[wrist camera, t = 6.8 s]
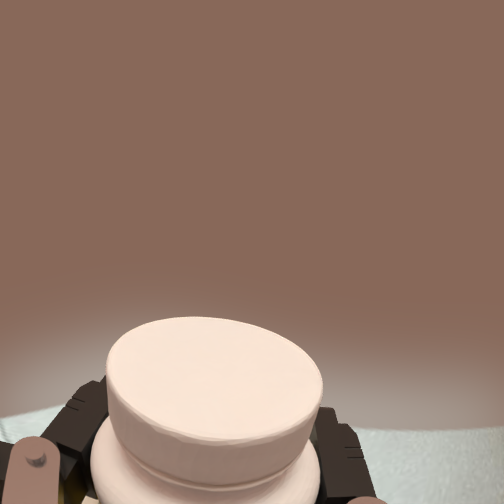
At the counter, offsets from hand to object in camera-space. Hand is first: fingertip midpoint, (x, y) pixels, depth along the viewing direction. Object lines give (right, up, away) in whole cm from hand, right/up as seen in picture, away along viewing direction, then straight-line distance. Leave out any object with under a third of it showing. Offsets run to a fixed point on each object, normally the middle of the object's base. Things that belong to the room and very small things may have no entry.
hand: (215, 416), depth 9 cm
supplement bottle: (-1, -7, -1) cm, 7 cm away
